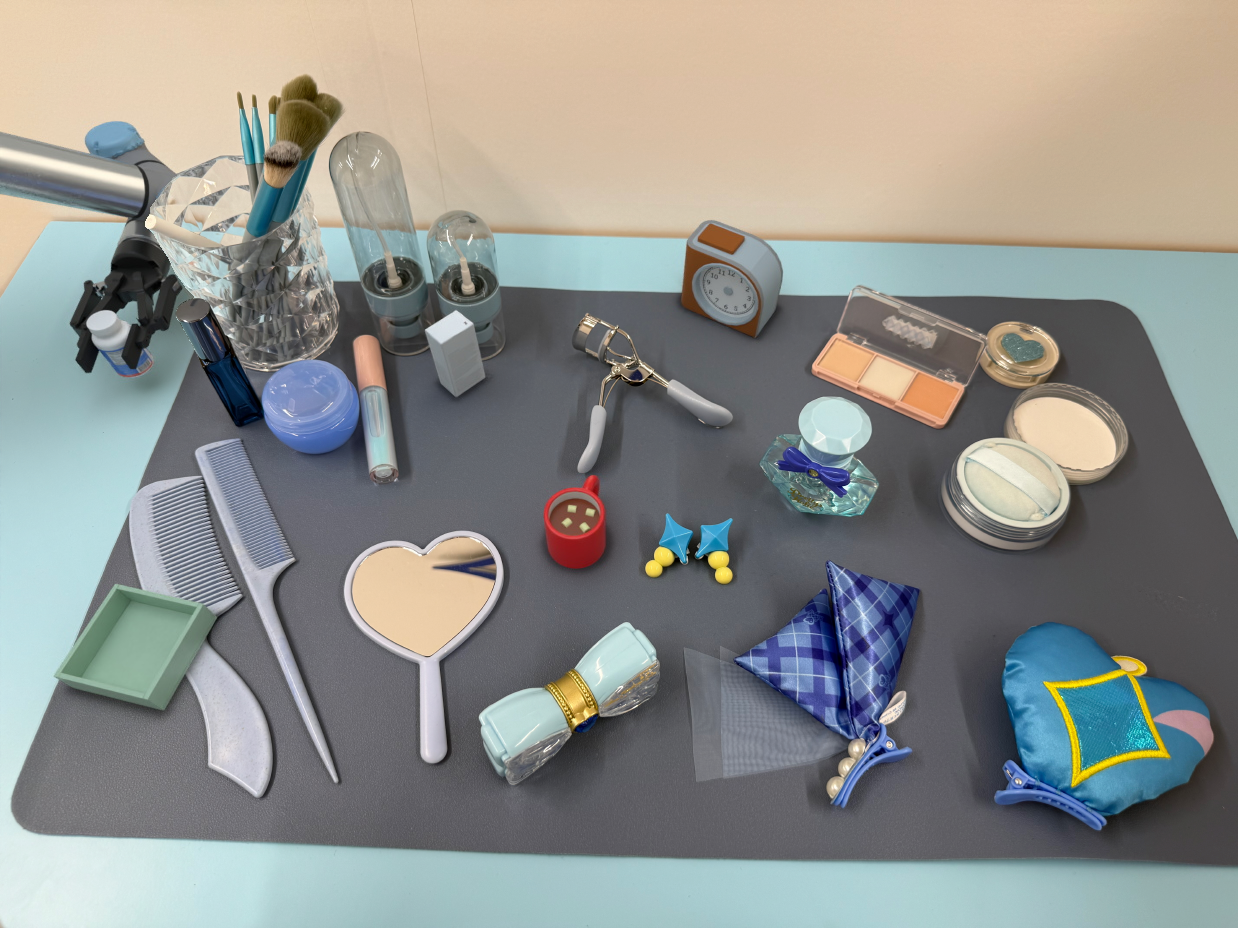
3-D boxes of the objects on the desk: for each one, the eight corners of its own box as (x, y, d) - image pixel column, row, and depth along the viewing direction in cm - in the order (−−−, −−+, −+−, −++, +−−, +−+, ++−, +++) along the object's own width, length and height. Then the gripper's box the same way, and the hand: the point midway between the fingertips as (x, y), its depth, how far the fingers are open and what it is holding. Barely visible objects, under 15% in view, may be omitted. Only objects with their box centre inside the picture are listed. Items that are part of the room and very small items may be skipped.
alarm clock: (675, 306, 131) (681, 241, 120) (699, 277, 135) (707, 212, 124) (754, 339, 127) (767, 275, 116) (776, 308, 131) (791, 244, 120)
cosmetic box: (469, 364, 123) (457, 308, 113) (486, 378, 122) (475, 323, 112) (438, 384, 121) (423, 329, 111) (455, 399, 119) (441, 344, 109)
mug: (621, 501, 108) (621, 470, 102) (595, 575, 102) (594, 546, 95) (568, 488, 110) (565, 456, 103) (539, 560, 103) (534, 530, 97)
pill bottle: (117, 358, 117) (81, 310, 109) (154, 349, 119) (121, 302, 111) (116, 383, 114) (79, 337, 107) (155, 374, 116) (121, 327, 108)
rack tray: (73, 687, 93) (52, 676, 89) (131, 597, 100) (115, 583, 96) (164, 710, 91) (147, 699, 88) (217, 617, 98) (203, 603, 95)
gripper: (214, 271, 126) (185, 376, 112) (96, 279, 124) (53, 387, 111) (193, 233, 120) (161, 340, 106) (69, 241, 118) (20, 351, 105)
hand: (106, 364), depth 109 cm, fingers closed on pill bottle, 5 cm apart
